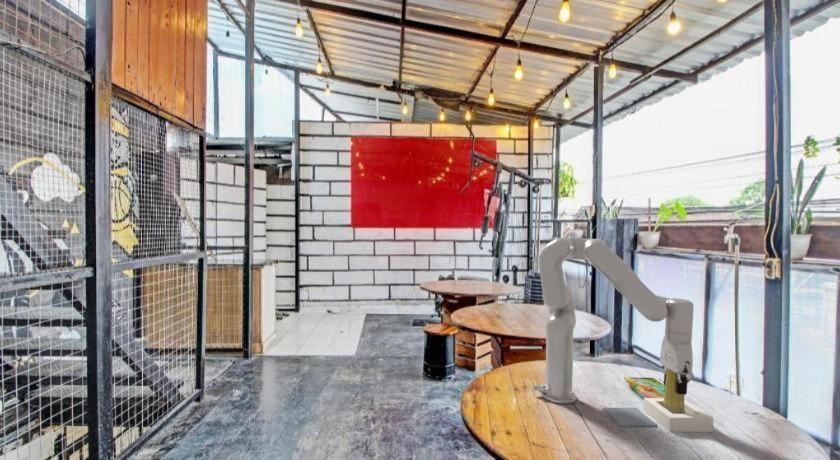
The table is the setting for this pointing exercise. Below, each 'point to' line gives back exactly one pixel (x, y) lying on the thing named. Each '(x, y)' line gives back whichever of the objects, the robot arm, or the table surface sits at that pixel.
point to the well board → (678, 416)
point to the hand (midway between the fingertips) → (674, 389)
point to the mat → (629, 417)
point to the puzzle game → (646, 387)
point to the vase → (672, 392)
